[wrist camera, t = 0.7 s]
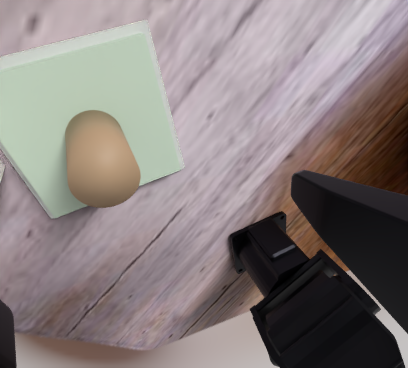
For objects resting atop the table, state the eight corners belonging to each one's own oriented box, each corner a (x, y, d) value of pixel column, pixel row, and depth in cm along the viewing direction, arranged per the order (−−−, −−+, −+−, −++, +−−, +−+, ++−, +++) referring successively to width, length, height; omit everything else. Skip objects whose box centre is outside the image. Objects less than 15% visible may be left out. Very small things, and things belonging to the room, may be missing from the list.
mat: (183, 165, 22) (185, 167, 22) (51, 215, 20) (51, 219, 19) (145, 19, 16) (147, 20, 15) (-53, 69, 14) (-56, 71, 13)
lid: (177, 164, 21) (208, 210, 17) (55, 211, 19) (54, 277, 15) (141, 32, 16) (174, 50, 11) (-37, 79, 14) (-80, 122, 9)
